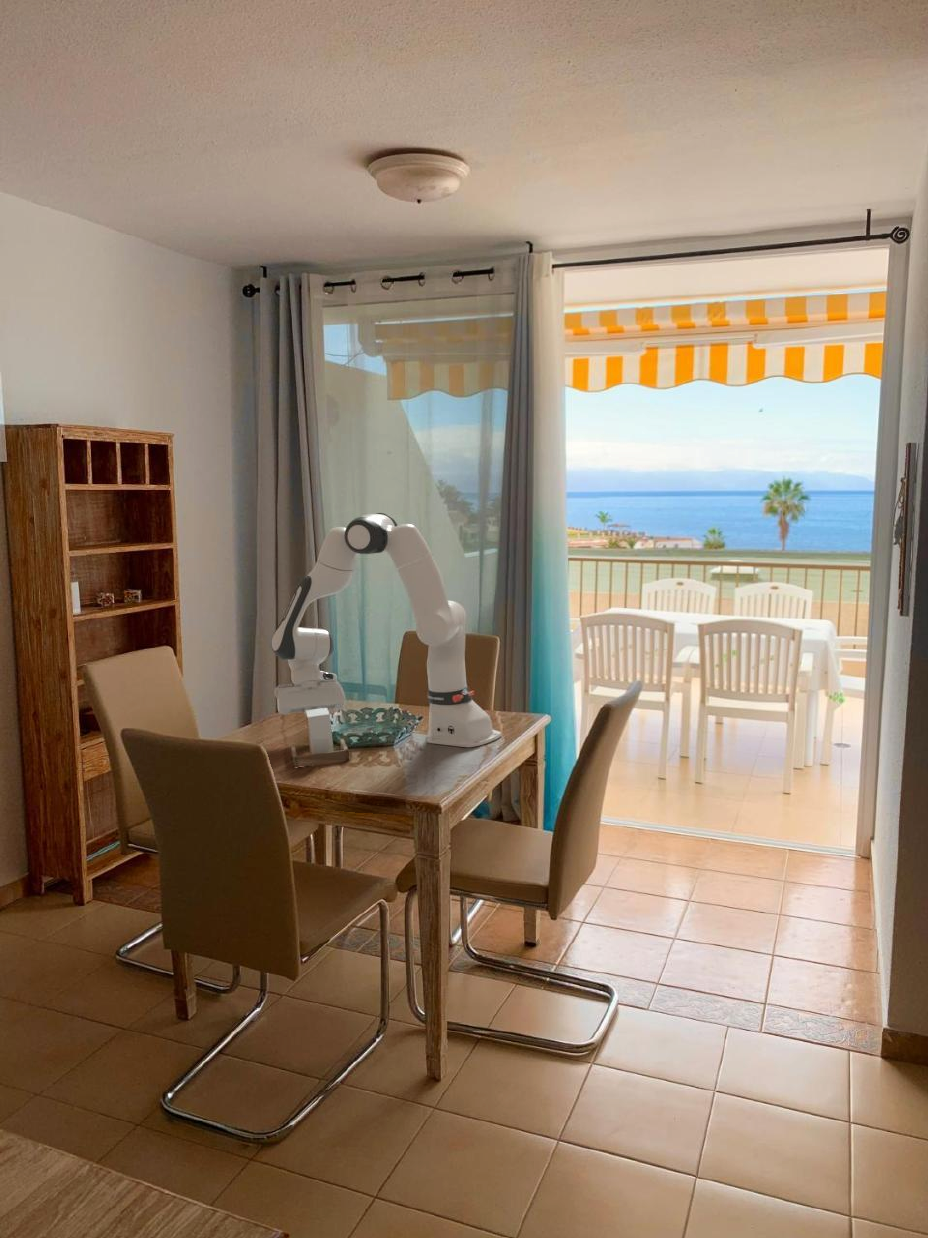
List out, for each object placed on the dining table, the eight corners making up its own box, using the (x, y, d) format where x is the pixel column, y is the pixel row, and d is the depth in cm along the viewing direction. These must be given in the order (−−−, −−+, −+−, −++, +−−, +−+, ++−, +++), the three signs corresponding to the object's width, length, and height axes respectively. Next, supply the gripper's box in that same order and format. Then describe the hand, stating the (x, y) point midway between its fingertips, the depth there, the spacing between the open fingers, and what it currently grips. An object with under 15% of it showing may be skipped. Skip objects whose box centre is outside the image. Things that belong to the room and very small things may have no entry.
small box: (310, 754, 275) (305, 710, 273) (332, 751, 276) (327, 707, 274) (312, 762, 267) (307, 717, 265) (335, 759, 268) (330, 713, 266)
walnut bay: (292, 756, 274) (290, 745, 274) (344, 748, 277) (343, 738, 277) (294, 768, 262) (293, 758, 262) (349, 760, 265) (348, 750, 265)
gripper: (274, 680, 284) (281, 721, 277) (341, 674, 292) (350, 713, 285) (271, 691, 289) (279, 731, 282) (337, 684, 297) (346, 723, 290)
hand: (315, 722), depth 284 cm, fingers closed
